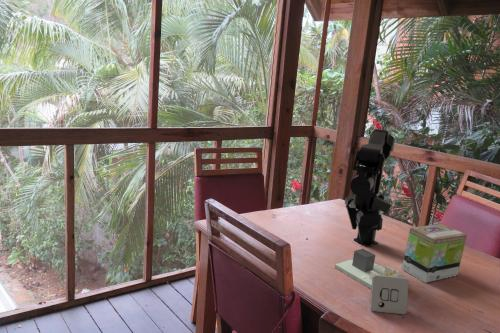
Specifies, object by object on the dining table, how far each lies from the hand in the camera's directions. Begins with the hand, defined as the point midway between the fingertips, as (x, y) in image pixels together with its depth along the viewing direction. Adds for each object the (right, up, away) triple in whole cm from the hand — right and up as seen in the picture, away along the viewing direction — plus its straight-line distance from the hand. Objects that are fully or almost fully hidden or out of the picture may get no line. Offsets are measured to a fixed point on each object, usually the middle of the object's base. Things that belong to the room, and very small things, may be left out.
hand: (358, 234), depth 127 cm
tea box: (+24, -13, +2) cm, 27 cm away
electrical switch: (+2, -16, -20) cm, 26 cm away
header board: (+3, -12, -3) cm, 13 cm away
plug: (+1, -10, -1) cm, 10 cm away
